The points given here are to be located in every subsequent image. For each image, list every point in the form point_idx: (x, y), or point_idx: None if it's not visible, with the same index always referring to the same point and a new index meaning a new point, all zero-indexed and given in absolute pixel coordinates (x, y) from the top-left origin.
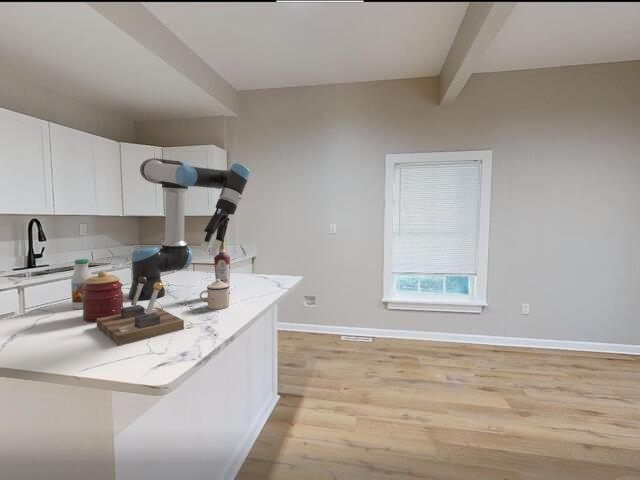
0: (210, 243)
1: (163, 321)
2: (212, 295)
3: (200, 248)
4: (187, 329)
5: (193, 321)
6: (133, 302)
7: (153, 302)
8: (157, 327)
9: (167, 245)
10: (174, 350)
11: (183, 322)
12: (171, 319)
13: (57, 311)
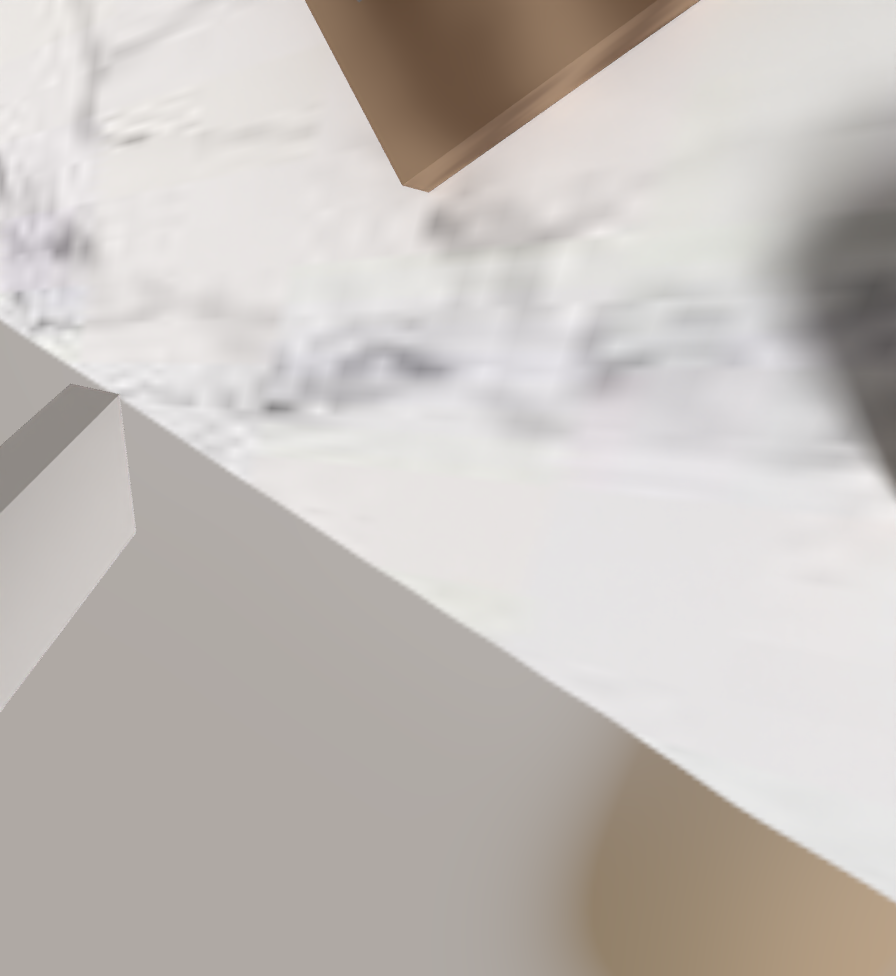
0: (3, 678)
1: (409, 15)
2: None
3: (57, 408)
4: (412, 220)
5: (589, 248)
6: None
7: None
8: (308, 1)
9: None
10: (110, 189)
11: (407, 185)
12: (447, 74)
13: None
